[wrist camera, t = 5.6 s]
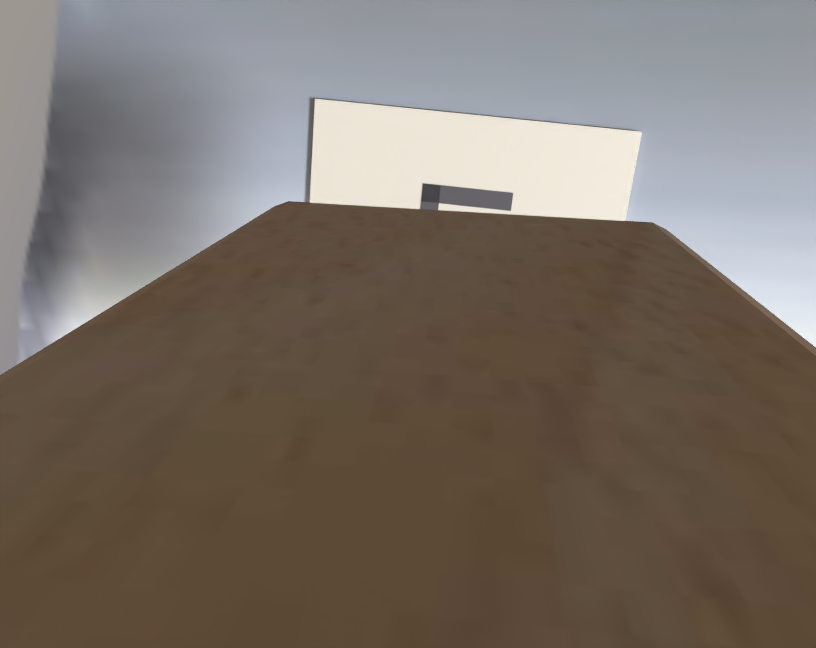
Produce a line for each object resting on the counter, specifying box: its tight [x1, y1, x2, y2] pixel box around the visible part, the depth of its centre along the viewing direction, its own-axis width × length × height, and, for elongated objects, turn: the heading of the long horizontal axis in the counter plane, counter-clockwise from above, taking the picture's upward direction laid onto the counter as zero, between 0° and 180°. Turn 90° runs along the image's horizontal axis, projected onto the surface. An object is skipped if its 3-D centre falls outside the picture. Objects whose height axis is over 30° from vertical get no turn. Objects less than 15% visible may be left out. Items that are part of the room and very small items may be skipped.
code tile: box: [310, 99, 642, 221], centre depth 33 cm, size 14×14×1 cm
